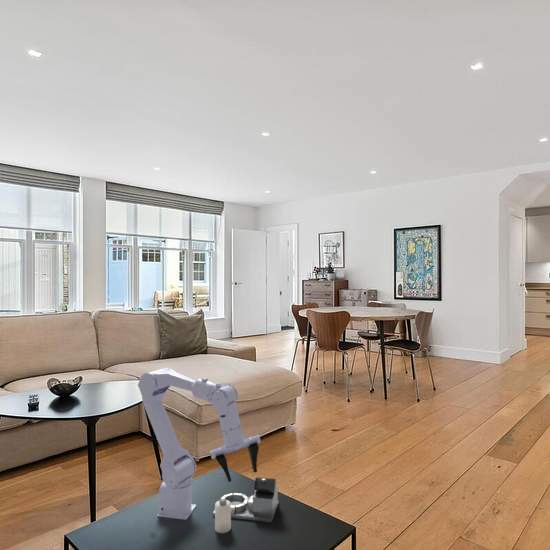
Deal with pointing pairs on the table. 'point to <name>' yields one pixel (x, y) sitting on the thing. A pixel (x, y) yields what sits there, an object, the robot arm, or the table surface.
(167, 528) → the table surface
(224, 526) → the white bottle
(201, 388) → the robot arm
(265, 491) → the grey machine
